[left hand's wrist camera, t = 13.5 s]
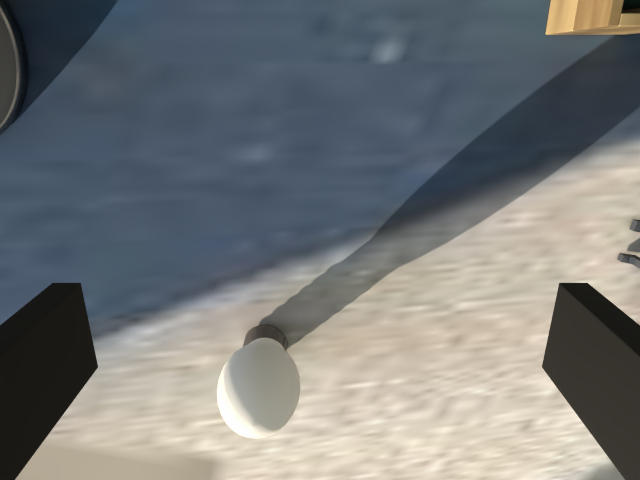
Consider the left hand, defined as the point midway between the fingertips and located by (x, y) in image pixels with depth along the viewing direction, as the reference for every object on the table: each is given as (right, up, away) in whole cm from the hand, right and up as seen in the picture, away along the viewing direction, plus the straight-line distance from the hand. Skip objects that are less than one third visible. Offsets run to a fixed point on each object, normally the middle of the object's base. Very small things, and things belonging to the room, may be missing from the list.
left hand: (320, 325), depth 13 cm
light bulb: (-5, -7, +31) cm, 33 cm away
